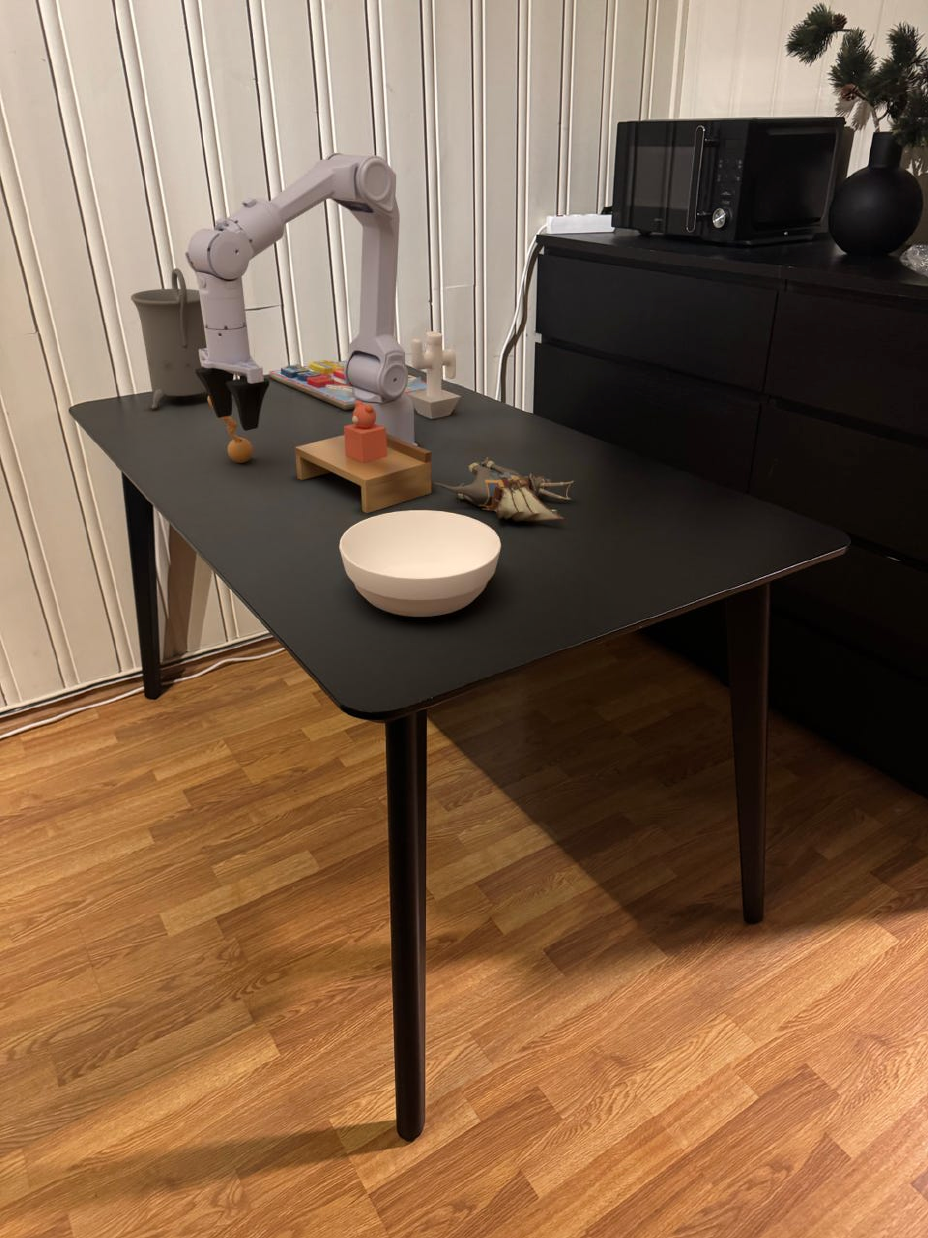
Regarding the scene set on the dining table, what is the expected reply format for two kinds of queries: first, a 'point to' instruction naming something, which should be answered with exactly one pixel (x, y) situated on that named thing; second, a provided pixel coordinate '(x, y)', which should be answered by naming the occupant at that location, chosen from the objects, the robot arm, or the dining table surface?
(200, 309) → the grey footed cauldron
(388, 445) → the shelf
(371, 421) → the orange box
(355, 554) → the bowl
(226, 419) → the figurine
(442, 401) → the figurine
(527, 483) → the figurine
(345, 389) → the puzzle board
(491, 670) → the dining table surface
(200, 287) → the robot arm
